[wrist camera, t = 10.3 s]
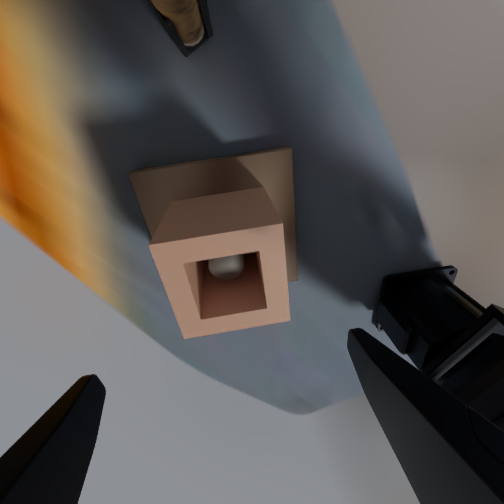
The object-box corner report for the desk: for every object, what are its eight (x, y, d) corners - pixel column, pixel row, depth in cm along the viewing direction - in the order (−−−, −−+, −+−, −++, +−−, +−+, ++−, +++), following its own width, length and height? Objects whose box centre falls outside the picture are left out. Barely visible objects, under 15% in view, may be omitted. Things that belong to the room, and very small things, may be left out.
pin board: (288, 146, 16) (312, 160, 12) (294, 273, 21) (313, 315, 17) (133, 170, 16) (100, 193, 12) (176, 292, 21) (164, 340, 17)
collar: (263, 186, 17) (282, 223, 11) (272, 263, 20) (290, 320, 14) (171, 201, 16) (148, 245, 11) (194, 276, 19) (184, 339, 14)
